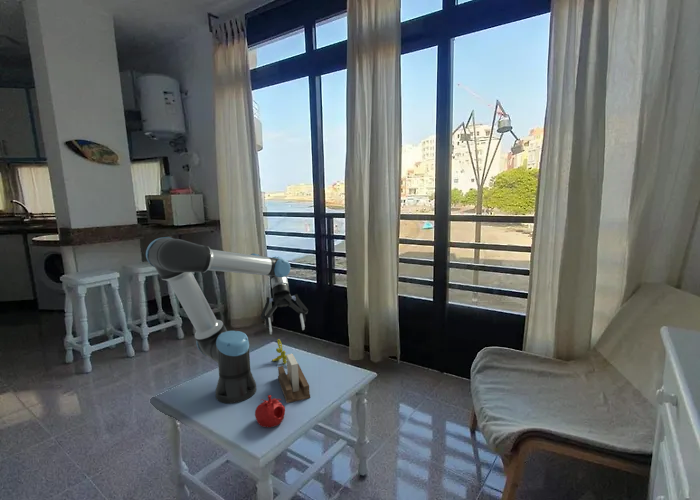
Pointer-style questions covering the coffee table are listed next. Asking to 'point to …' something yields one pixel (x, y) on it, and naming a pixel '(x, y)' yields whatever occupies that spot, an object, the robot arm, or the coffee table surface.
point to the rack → (287, 389)
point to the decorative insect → (281, 353)
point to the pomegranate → (270, 412)
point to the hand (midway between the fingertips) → (287, 331)
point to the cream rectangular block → (292, 372)
